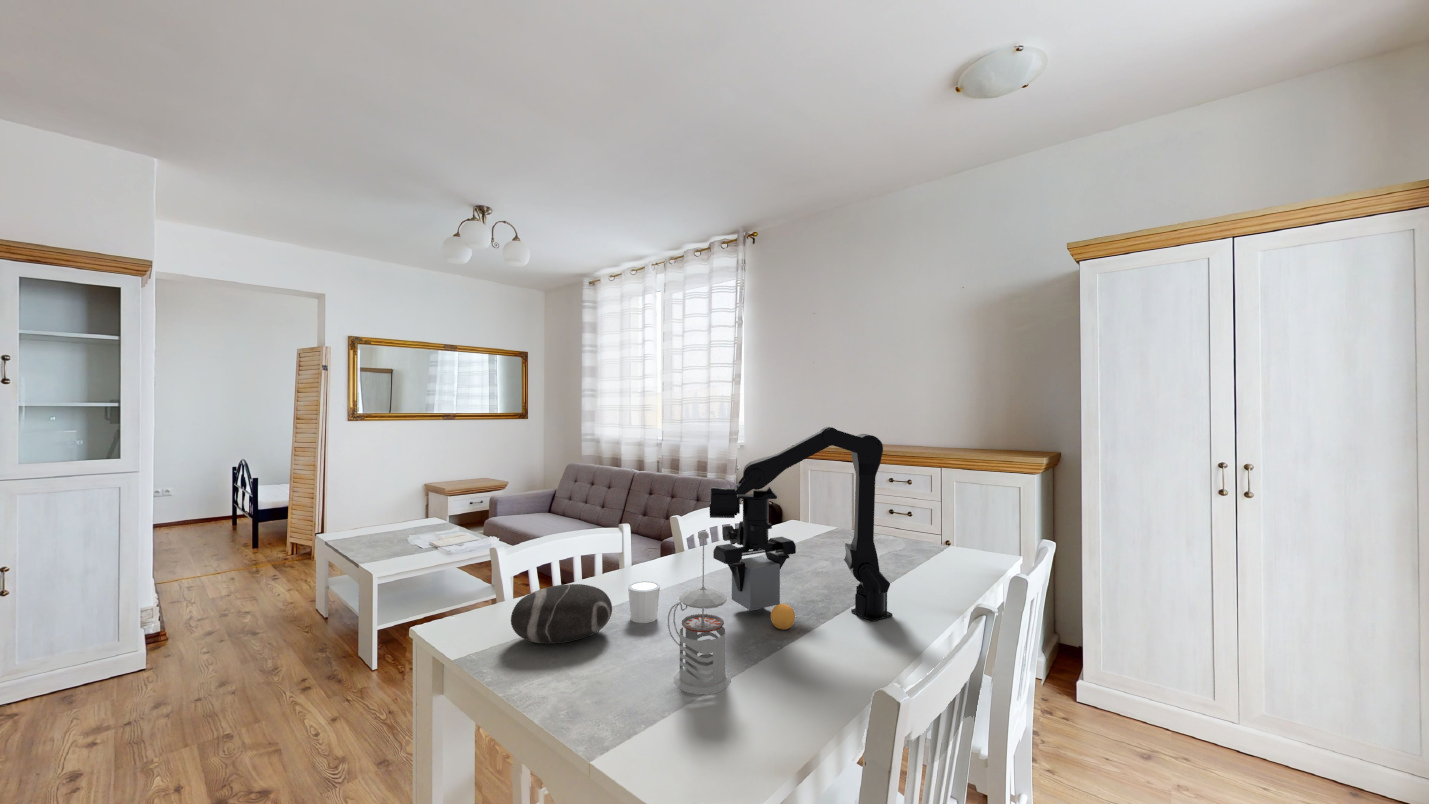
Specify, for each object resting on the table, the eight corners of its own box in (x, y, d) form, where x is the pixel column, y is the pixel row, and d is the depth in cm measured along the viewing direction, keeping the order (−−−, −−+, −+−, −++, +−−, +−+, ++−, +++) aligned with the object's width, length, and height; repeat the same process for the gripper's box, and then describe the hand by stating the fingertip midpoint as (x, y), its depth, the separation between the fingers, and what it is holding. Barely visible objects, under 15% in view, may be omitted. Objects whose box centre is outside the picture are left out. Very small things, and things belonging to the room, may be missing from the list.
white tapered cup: (654, 625, 117) (654, 592, 117) (623, 622, 118) (623, 589, 118) (663, 613, 124) (664, 581, 124) (634, 611, 125) (634, 579, 125)
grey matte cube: (760, 593, 130) (760, 556, 130) (779, 604, 123) (779, 564, 123) (731, 599, 126) (731, 560, 126) (750, 610, 120) (750, 569, 120)
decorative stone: (513, 662, 100) (513, 606, 100) (508, 632, 113) (508, 582, 113) (619, 644, 108) (620, 592, 108) (603, 618, 121) (603, 571, 121)
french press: (711, 700, 88) (712, 540, 88) (652, 680, 94) (653, 531, 94) (742, 675, 96) (743, 528, 96) (686, 658, 102) (687, 521, 102)
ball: (785, 622, 119) (785, 598, 119) (799, 630, 115) (800, 606, 115) (765, 626, 117) (766, 602, 117) (780, 635, 112) (780, 610, 112)
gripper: (769, 508, 137) (769, 572, 137) (701, 515, 127) (701, 584, 127) (797, 516, 127) (797, 585, 127) (726, 525, 118) (726, 599, 118)
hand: (755, 588), depth 125 cm, fingers closed on grey matte cube, 8 cm apart
